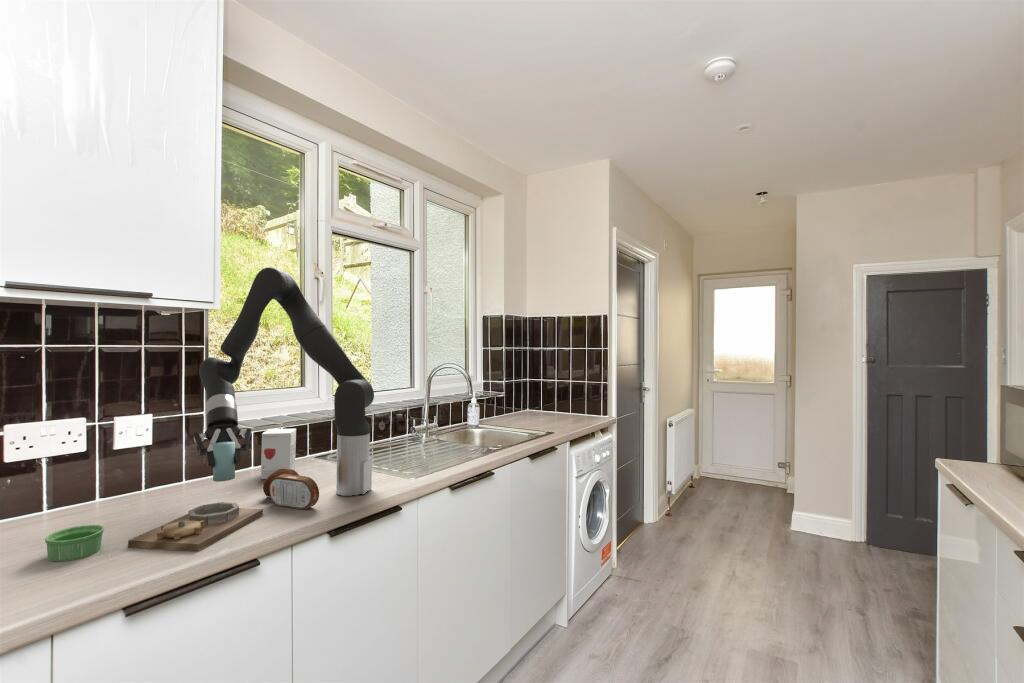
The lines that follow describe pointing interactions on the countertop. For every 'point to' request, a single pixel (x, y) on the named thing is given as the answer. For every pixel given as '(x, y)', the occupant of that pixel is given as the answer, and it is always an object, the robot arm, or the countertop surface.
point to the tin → (294, 491)
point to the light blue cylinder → (224, 461)
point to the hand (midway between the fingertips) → (224, 464)
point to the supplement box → (277, 451)
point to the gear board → (197, 528)
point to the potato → (275, 474)
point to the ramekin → (74, 542)
